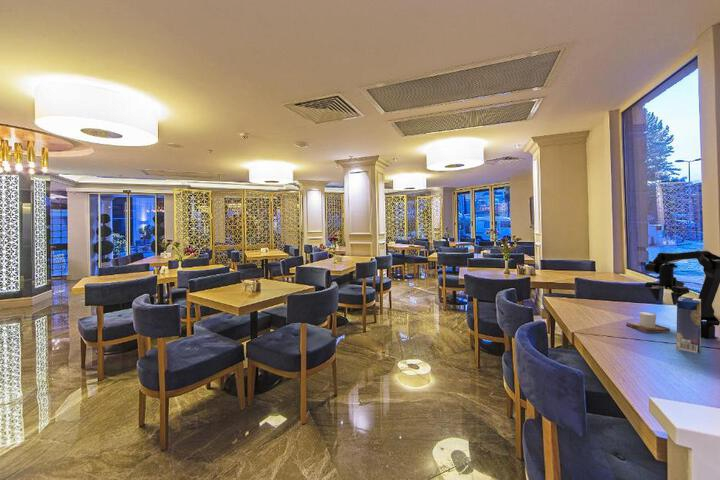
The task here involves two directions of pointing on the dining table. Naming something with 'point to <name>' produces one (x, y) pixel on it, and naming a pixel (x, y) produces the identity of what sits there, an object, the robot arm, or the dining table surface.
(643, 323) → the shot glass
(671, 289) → the robot arm
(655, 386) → the dining table surface
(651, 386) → the dining table surface
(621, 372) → the dining table surface
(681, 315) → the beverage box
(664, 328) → the serving board
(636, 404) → the dining table surface
